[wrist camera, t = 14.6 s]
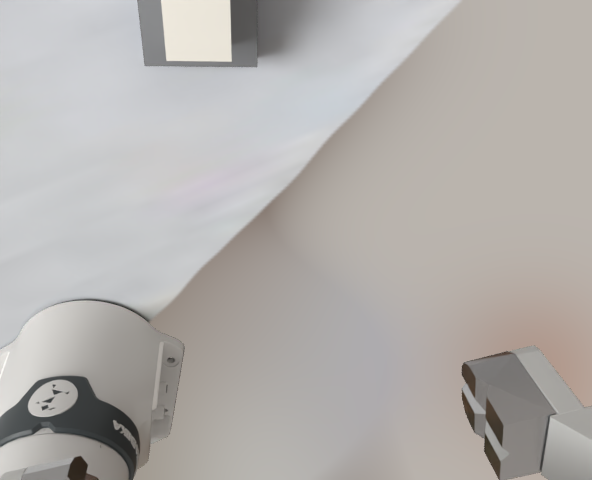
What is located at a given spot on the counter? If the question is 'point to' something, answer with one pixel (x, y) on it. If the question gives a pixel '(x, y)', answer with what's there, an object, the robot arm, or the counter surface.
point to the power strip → (241, 51)
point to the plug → (197, 30)
